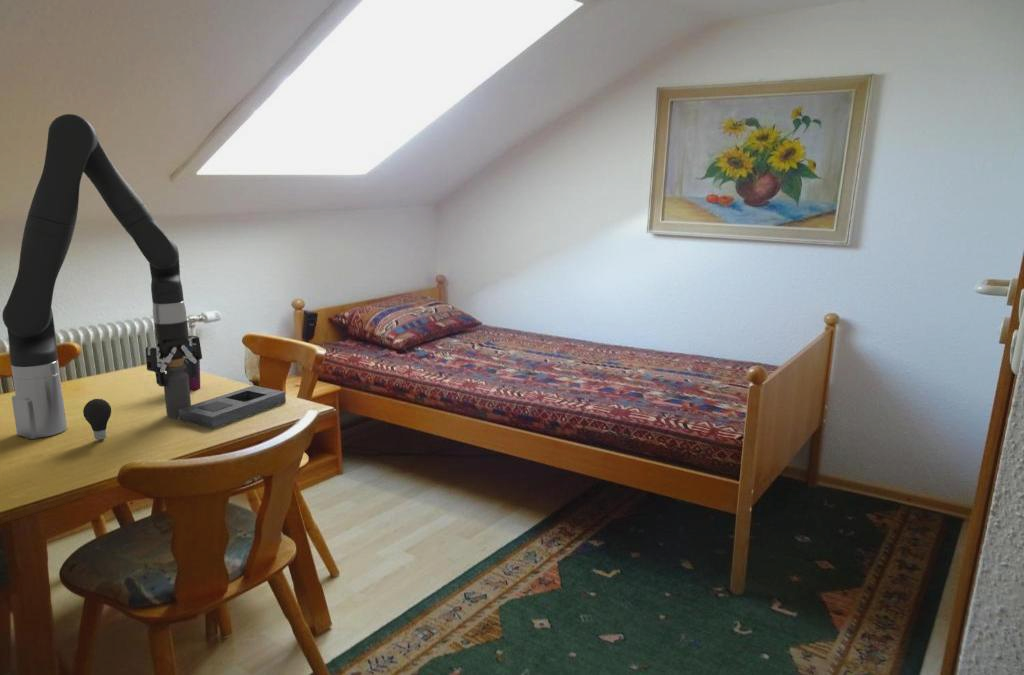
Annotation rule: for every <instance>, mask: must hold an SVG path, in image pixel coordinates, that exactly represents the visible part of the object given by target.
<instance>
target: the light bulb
mask: <svg viewBox="0 0 1024 675" xmlns="http://www.w3.org/2000/svg"><path fill="white" fill-rule="evenodd" d="M82 410H83V412H82V413H83V417H84V419H85V420H86V421H87V422H88V424H89V425H90V426H91V430H92V431H93V437H94V440H98V442H102V441H104V439H106V438H107V427H108V426H107V424H108V422H109V420H110V418H111V414H112V407H111V405H110V403H109V402H108V401H106V400H105V399H102V398H93V399H91V400H89V401H88V402H87V403H86V404H85V405H84V407H83V409H82Z"/></svg>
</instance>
